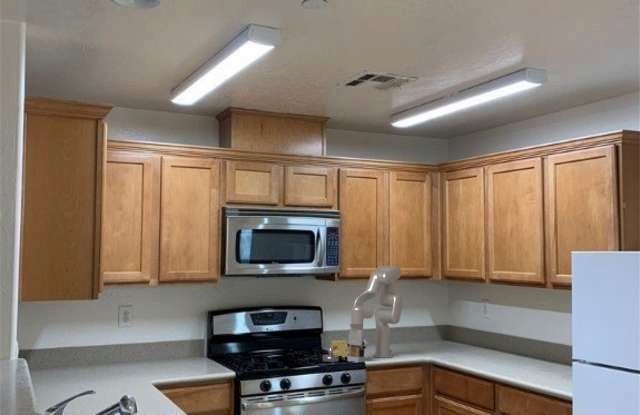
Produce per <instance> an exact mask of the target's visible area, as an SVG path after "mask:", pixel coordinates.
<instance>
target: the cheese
mask: <svg viewBox="0 0 640 415" xmlns="http://www.w3.org/2000/svg"><path fill="white" fill-rule="evenodd" d="M347 340H348V339H347ZM347 340H346V339H342V340H339V339H338V340H334V339H333V340H332V341H331V346H330V347H332V348H333V355H338V356H342V357H341V358H345V357H347V358H348V356H349V347H348V346H347V344H346V341H347Z"/></svg>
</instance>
